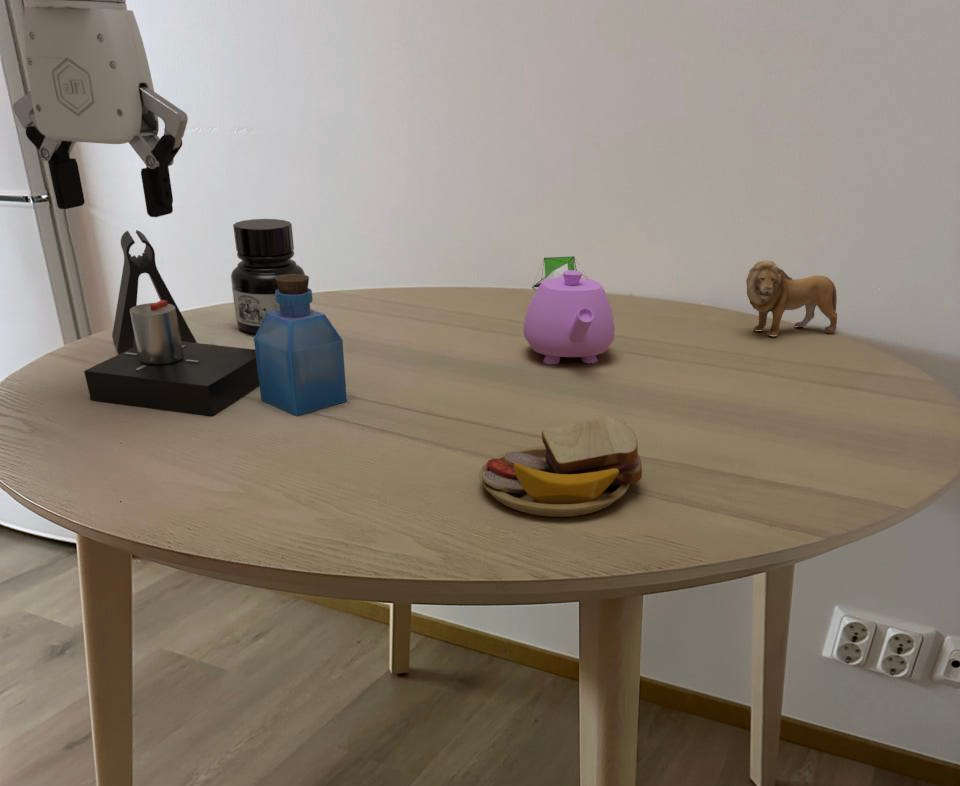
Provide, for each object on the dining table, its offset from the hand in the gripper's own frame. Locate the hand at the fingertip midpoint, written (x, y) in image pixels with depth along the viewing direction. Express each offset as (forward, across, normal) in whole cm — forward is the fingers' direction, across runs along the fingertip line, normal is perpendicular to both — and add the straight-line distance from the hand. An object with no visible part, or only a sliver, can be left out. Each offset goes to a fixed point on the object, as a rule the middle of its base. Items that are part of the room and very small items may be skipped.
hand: (115, 210), depth 87 cm
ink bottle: (+17, +1, +26) cm, 31 cm away
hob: (+17, +3, +2) cm, 17 cm away
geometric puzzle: (+16, +33, +47) cm, 60 cm away
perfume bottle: (+17, +17, +3) cm, 24 cm away
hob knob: (+14, +1, +2) cm, 14 cm away
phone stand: (+17, -9, +15) cm, 24 cm away
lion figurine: (+16, +63, +45) cm, 79 cm away
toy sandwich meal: (+17, +46, -9) cm, 50 cm away
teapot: (+17, +39, +26) cm, 50 cm away
